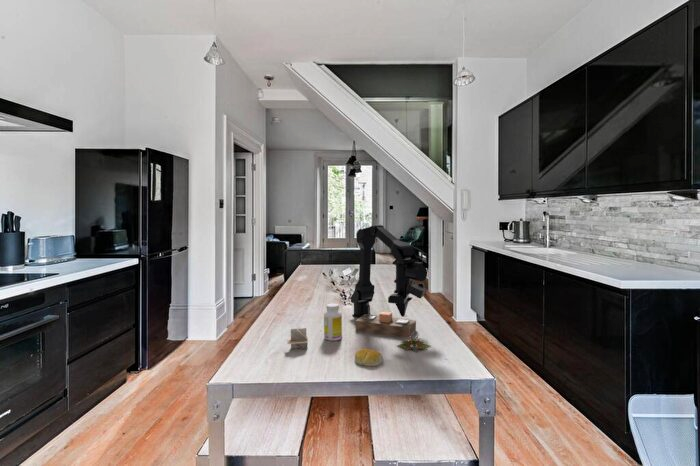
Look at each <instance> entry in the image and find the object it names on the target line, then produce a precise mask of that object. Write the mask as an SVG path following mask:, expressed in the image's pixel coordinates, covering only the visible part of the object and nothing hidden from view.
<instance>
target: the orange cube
mask: <svg viewBox="0 0 700 466" xmlns="http://www.w3.org/2000/svg"><path fill="white" fill-rule="evenodd" d="M378 316H379V322H387V323H390V322H391V321H392V318H393V312H391V311H382V312H380V313H379V314H378Z"/></svg>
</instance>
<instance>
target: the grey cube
mask: <svg viewBox="0 0 700 466" xmlns="http://www.w3.org/2000/svg"><path fill="white" fill-rule="evenodd" d="M371 315H372V314H370V315H366V316H365V317H363V319H364V320H372V321H373V320H374V319H376V316H371Z"/></svg>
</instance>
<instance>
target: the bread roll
mask: <svg viewBox="0 0 700 466" xmlns="http://www.w3.org/2000/svg"><path fill="white" fill-rule="evenodd" d="M354 361H355V363H356V364H358V365H360V366H365V367H368V368H369V367H370V368H371V367H372V368H373V367H377V366H380V365H381V364H382V363H383V361H384V357H383V354H382V353H381V352H380V351H378V350H376V349H372V350H371V349H369V348H360V349H359V350H357V351H356V353H355V355H354Z"/></svg>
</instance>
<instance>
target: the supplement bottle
mask: <svg viewBox="0 0 700 466" xmlns="http://www.w3.org/2000/svg"><path fill="white" fill-rule="evenodd" d="M325 308H326V311H324V313H323V333H324V334H323V336H324V339H325V340H326V341H330V342H331V341H332V342H336V341H339V340H341V339H342V337H343V333H342V331H343V329H342V328H343V322H342V320H343V319H342V317H343V316H342V311H340V310H339V308H340V305H339V304H338V303H328V304H326V307H325Z"/></svg>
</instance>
